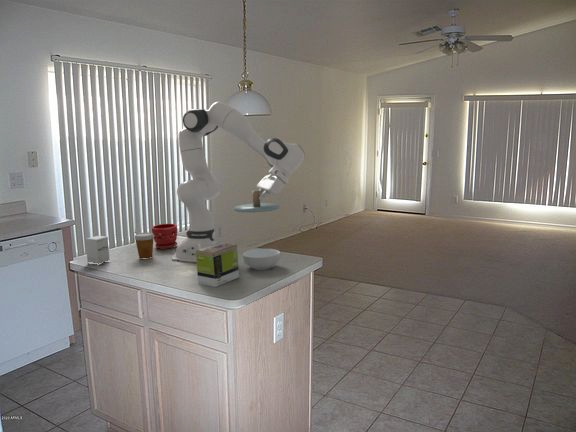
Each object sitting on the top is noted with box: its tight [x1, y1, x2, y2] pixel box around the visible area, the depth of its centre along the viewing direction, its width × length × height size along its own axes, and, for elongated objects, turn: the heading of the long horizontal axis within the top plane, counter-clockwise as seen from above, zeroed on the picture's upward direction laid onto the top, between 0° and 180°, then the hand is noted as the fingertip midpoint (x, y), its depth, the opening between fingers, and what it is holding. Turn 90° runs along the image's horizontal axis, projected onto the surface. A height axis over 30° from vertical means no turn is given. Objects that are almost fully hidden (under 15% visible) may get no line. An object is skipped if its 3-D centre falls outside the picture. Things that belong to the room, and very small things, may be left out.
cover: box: [233, 189, 280, 213], centre depth 216 cm, size 20×20×8 cm
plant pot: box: [151, 223, 178, 250], centre depth 265 cm, size 13×13×12 cm
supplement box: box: [85, 235, 110, 264], centre depth 236 cm, size 7×7×13 cm
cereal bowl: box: [242, 248, 281, 271], centre depth 222 cm, size 17×17×7 cm
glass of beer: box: [133, 232, 154, 259], centre depth 244 cm, size 10×10×12 cm
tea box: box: [196, 241, 240, 288], centre depth 203 cm, size 15×10×15 cm, turn 145°
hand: (257, 198), depth 217 cm, fingers closed on cover, 3 cm apart
